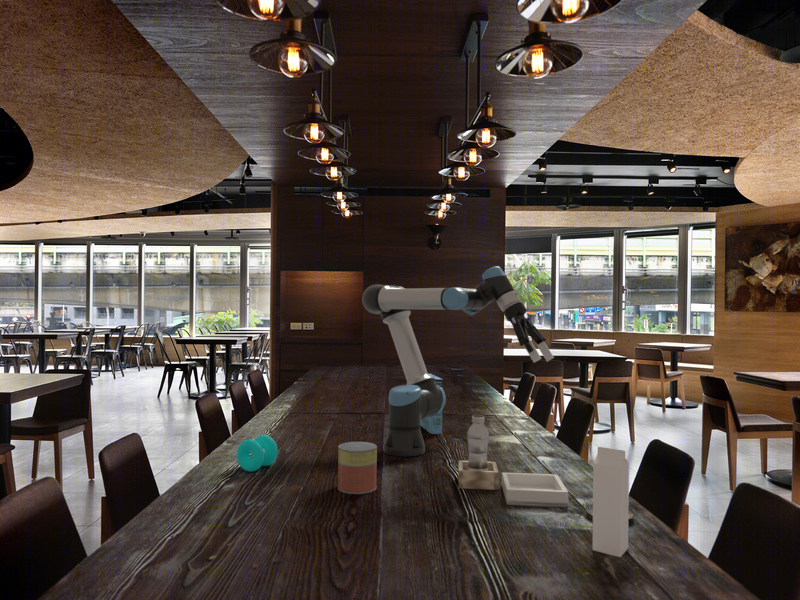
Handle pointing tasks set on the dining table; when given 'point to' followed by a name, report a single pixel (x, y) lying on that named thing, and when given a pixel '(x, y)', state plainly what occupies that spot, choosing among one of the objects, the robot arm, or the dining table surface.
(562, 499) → the plastic tray
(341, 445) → the canned food
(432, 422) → the gum box
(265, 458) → the turquoise yo-yo
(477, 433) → the plastic bottle
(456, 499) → the dining table surface
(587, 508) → the patterned ceramic bowl
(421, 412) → the robot arm
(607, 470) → the milk
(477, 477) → the wooden collar
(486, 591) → the dining table surface
